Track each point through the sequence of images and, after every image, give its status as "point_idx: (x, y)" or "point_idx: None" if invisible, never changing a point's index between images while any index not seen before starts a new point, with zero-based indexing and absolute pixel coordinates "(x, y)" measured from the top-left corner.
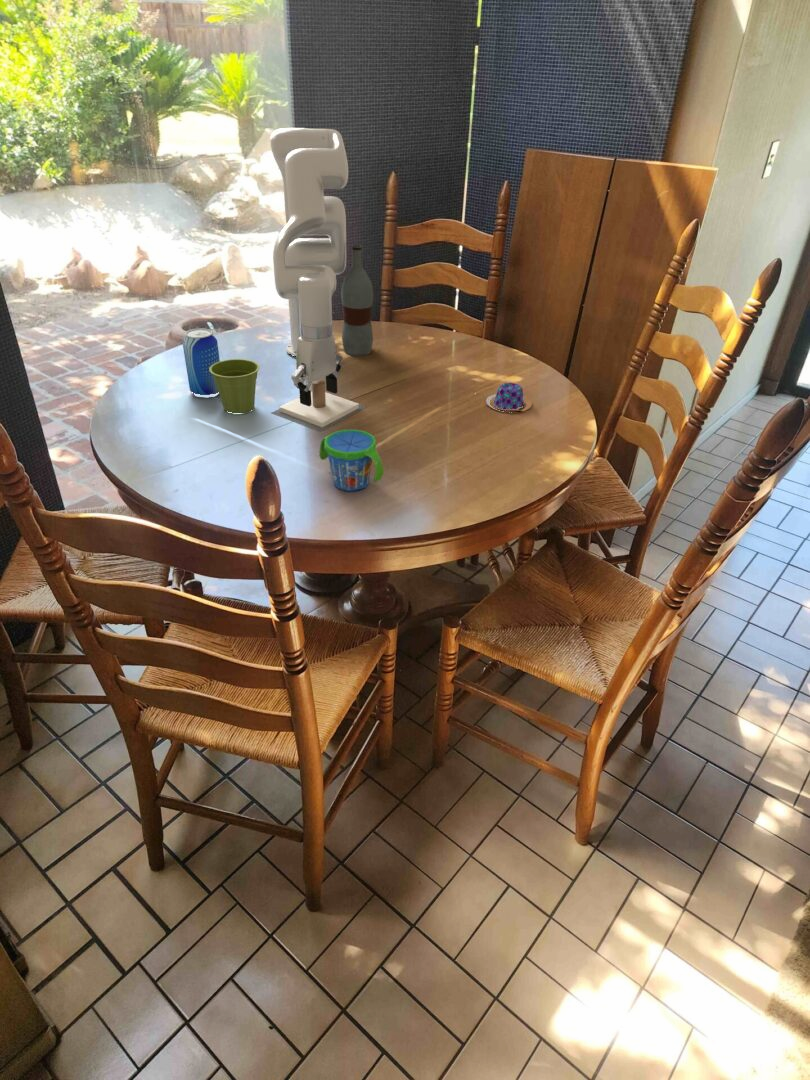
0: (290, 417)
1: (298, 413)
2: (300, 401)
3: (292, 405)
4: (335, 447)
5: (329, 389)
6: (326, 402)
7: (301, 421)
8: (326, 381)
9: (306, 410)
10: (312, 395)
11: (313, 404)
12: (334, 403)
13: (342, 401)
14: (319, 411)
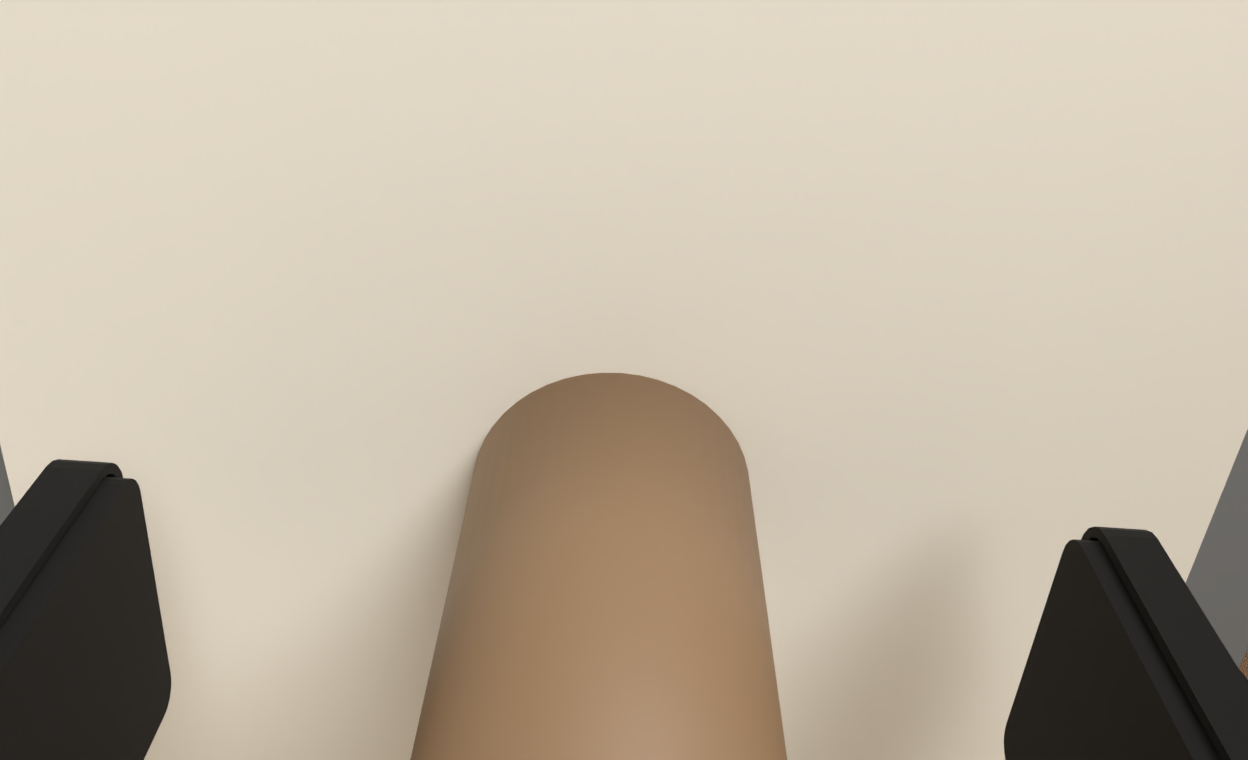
0: None
1: (10, 392)
2: (45, 485)
3: (180, 28)
4: None
5: (1059, 658)
6: (808, 528)
7: (2, 460)
8: (1172, 735)
9: (237, 435)
10: (475, 569)
11: (476, 470)
12: (851, 653)
13: (1008, 709)
14: (387, 631)
